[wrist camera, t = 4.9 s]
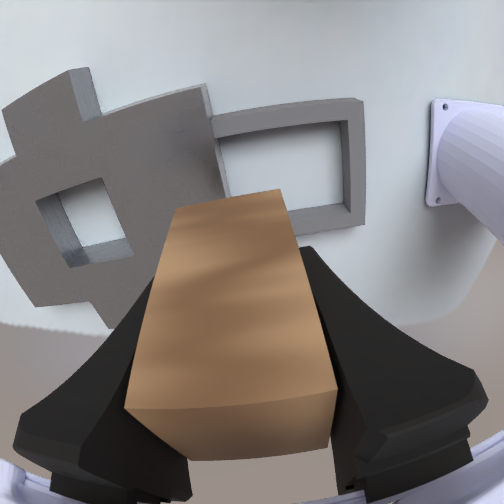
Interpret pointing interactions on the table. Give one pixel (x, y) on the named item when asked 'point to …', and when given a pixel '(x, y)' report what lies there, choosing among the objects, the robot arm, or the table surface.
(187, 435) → the walnut plug
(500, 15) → the table surface
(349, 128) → the grey rectangular frame
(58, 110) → the block
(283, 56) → the table surface
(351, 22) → the table surface
